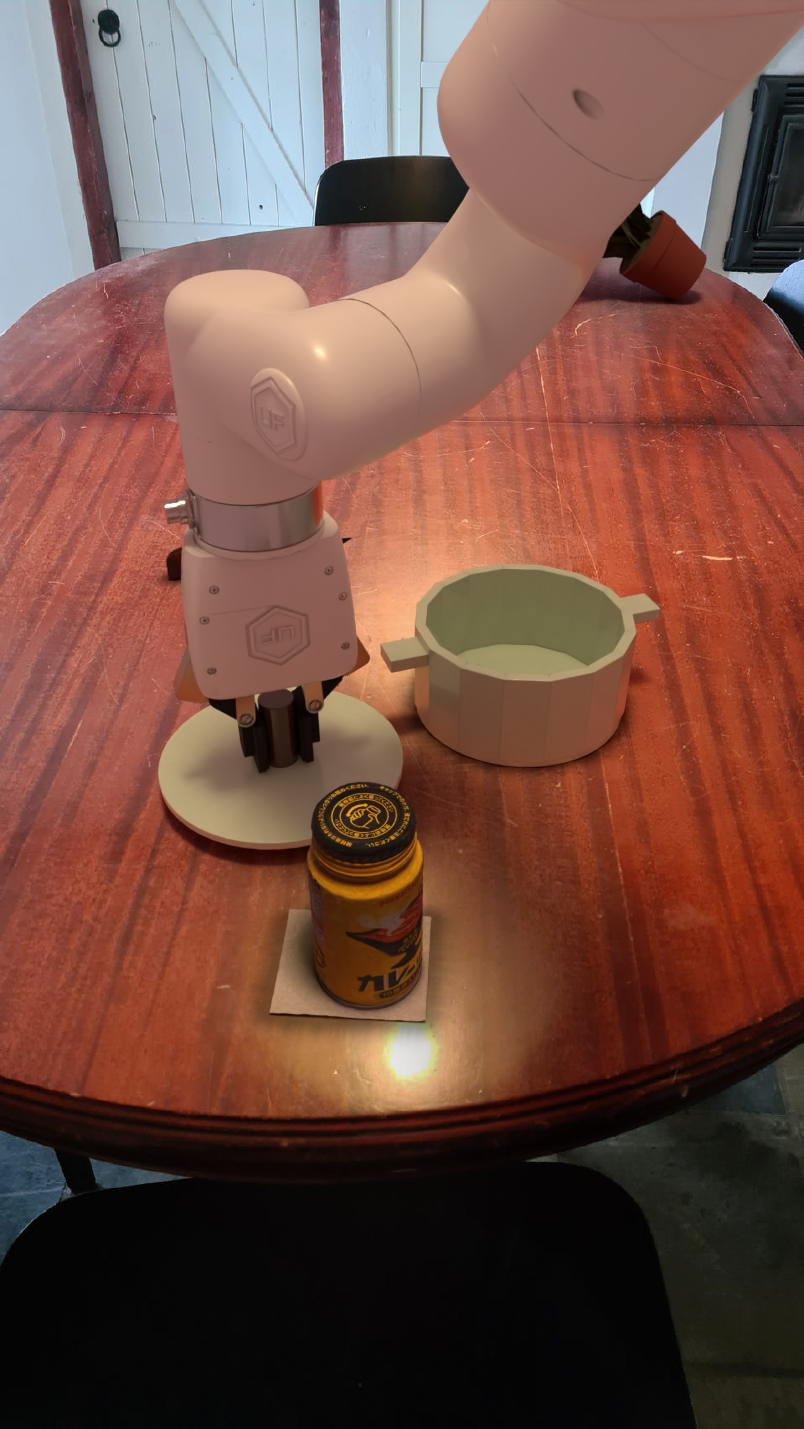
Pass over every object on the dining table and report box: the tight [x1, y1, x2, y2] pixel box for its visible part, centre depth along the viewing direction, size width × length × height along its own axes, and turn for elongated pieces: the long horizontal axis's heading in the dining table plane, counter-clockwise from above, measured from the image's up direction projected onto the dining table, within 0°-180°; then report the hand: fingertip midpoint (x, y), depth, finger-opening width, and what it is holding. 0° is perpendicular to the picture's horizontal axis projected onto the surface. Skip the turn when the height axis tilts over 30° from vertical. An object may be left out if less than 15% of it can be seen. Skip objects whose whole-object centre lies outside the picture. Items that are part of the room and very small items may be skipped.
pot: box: [379, 563, 661, 768], centre depth 76 cm, size 16×21×8 cm
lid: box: [157, 686, 404, 850], centre depth 69 cm, size 17×17×6 cm
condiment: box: [269, 782, 432, 1022], centre depth 55 cm, size 7×8×12 cm
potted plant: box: [462, 186, 708, 301], centre depth 152 cm, size 45×39×43 cm
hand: (281, 753), depth 70 cm, fingers closed on lid, 2 cm apart
